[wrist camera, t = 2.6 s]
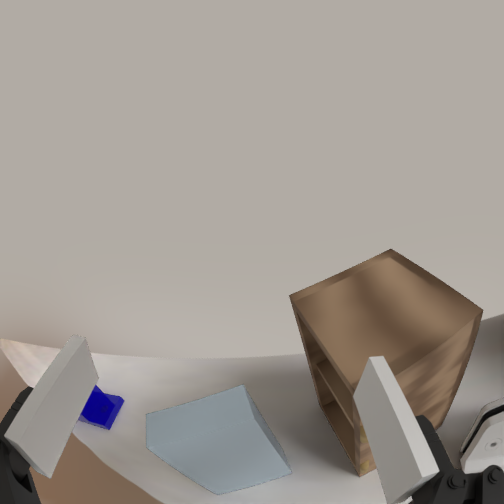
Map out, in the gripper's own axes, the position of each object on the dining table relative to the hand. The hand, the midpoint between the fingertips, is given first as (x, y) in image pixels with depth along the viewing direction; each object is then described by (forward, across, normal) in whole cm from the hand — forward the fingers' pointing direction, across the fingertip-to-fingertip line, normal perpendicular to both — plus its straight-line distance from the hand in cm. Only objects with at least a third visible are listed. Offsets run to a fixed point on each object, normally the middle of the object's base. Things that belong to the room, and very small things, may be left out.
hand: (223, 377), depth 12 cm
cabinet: (+11, +19, -20) cm, 30 cm away
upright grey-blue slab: (+8, +3, -27) cm, 28 cm away
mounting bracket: (+22, -29, -38) cm, 53 cm away
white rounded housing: (-2, +34, -16) cm, 38 cm away
